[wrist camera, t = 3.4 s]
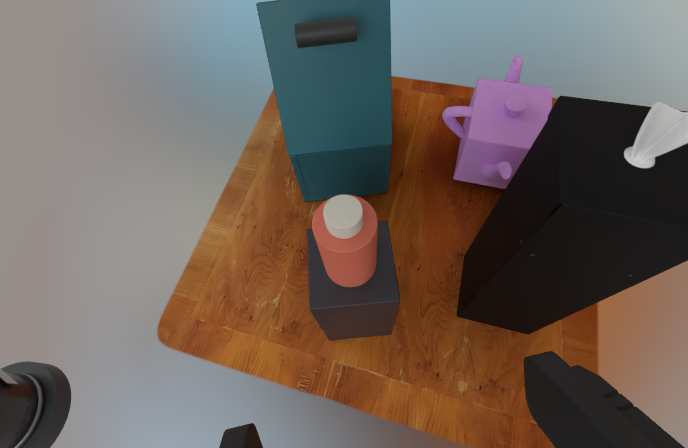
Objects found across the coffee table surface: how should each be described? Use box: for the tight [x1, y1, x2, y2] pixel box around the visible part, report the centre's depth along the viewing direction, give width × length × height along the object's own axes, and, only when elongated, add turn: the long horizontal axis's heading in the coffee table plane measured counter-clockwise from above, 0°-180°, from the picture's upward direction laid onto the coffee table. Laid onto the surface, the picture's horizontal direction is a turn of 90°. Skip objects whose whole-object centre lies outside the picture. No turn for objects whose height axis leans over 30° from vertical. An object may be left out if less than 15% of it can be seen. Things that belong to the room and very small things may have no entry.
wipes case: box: [290, 144, 391, 202], centre depth 46 cm, size 14×12×10 cm
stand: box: [307, 221, 400, 340], centre depth 34 cm, size 7×7×14 cm
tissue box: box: [457, 96, 688, 334], centre depth 28 cm, size 8×8×28 cm
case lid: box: [256, 0, 392, 155], centre depth 33 cm, size 14×12×5 cm
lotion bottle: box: [312, 195, 378, 287], centre depth 24 cm, size 4×4×8 cm
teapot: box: [442, 56, 552, 189], centre depth 44 cm, size 15×13×11 cm
